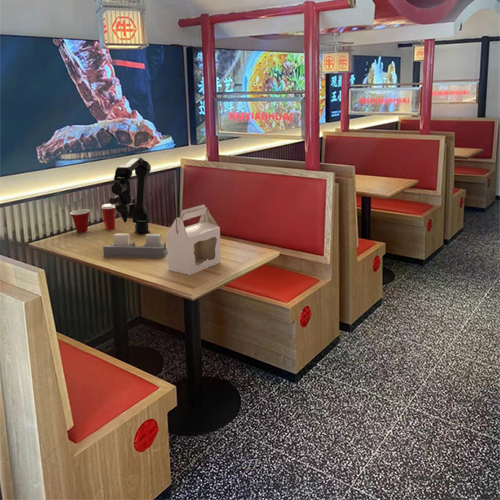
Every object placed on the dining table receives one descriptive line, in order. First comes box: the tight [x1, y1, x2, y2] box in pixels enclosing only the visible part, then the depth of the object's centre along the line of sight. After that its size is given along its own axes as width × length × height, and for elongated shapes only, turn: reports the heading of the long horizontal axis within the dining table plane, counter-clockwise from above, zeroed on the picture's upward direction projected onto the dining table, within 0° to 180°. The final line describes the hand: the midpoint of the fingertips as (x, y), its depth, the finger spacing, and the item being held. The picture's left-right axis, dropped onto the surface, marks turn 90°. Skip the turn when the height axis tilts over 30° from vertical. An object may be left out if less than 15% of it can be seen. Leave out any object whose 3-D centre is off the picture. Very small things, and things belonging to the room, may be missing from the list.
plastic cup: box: [69, 209, 91, 234], centre depth 310 cm, size 11×11×12 cm
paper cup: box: [101, 203, 116, 231], centre depth 315 cm, size 8×8×14 cm
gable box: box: [166, 204, 222, 276], centre depth 249 cm, size 22×13×28 cm, turn 144°
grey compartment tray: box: [102, 241, 168, 259], centre depth 272 cm, size 13×30×5 cm, turn 85°
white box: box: [144, 233, 162, 247], centre depth 272 cm, size 3×7×8 cm, turn 85°
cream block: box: [113, 233, 131, 246], centre depth 274 cm, size 3×7×8 cm, turn 85°
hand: (127, 220), depth 288 cm, fingers open, 9 cm apart
